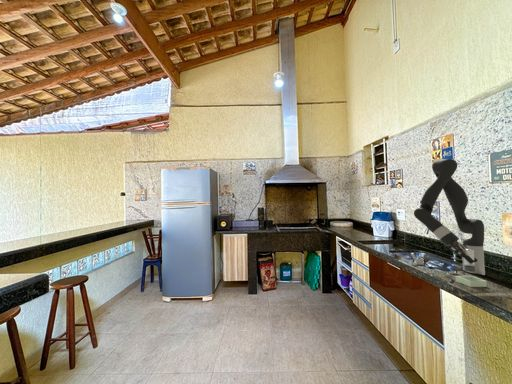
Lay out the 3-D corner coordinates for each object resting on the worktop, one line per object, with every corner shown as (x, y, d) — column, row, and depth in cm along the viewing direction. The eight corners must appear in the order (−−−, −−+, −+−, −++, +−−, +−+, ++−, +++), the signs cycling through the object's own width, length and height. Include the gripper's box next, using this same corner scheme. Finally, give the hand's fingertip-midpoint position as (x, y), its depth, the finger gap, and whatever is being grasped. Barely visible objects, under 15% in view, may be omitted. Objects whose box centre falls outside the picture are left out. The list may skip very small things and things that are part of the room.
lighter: (422, 264, 165) (421, 252, 165) (423, 264, 163) (422, 253, 164) (411, 263, 166) (410, 252, 167) (412, 264, 165) (411, 253, 165)
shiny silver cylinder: (461, 269, 125) (461, 248, 125) (470, 269, 125) (469, 248, 125) (469, 271, 120) (468, 250, 121) (477, 271, 120) (477, 250, 121)
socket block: (445, 278, 135) (444, 272, 135) (457, 278, 135) (457, 272, 135) (456, 283, 127) (455, 277, 127) (469, 282, 127) (469, 276, 127)
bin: (455, 283, 127) (455, 275, 127) (471, 283, 127) (471, 275, 127) (470, 289, 118) (469, 281, 118) (487, 289, 118) (486, 281, 118)
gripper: (445, 232, 126) (475, 259, 115) (456, 230, 133) (486, 256, 122) (434, 240, 131) (462, 268, 120) (445, 238, 138) (473, 264, 127)
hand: (474, 262), depth 121 cm, fingers closed on shiny silver cylinder, 3 cm apart
